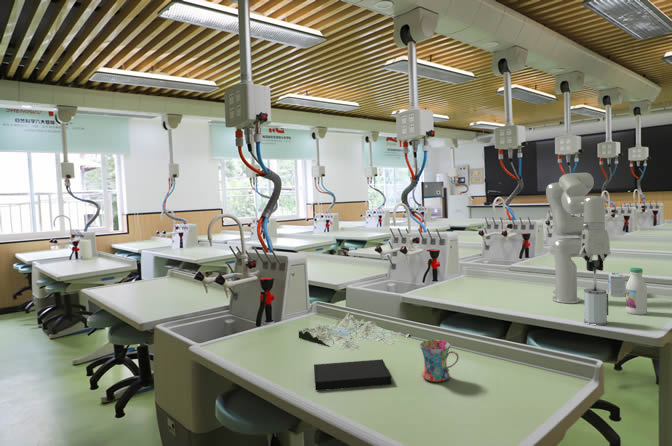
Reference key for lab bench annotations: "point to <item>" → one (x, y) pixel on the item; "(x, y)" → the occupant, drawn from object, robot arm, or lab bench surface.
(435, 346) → the mug
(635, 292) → the milk bottle
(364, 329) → the topographic map model
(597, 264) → the plunger
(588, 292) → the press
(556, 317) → the lab bench surface
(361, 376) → the external hard drive
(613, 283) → the light bulb box
